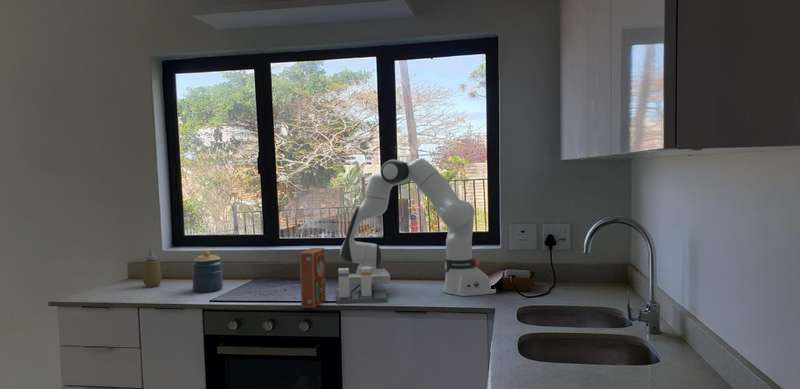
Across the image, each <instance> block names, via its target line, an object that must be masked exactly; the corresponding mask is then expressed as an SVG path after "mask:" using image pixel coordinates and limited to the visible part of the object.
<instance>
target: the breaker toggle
mask: <svg viewBox="0 0 800 389" xmlns="http://www.w3.org/2000/svg"><path fill="white" fill-rule="evenodd" d="M360 286H361V287H360V288H361V289H360V291H361V292H362V296H372V294H371V290H372V285H371V267H361V285H360Z"/></svg>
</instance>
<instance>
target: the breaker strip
mask: <svg viewBox="0 0 800 389" xmlns="http://www.w3.org/2000/svg"><path fill="white" fill-rule="evenodd" d="M349 269H350V267H340V268H338V270H337V272H338V276H337V277H338V290H337V291H336V296H335V299H336V301H335V302H336V305H337V304H360V303H361V304H362V303H364V304H365V303H384V302H385V303H386V302H388V299H387V297H388V296H387V292H386V289H379V290H377V289H376V290H375V289H371V294H372V296H362V292H361V289H360V290H350V285H349V274H350V270H349Z"/></svg>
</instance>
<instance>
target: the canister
mask: <svg viewBox="0 0 800 389" xmlns="http://www.w3.org/2000/svg"><path fill="white" fill-rule="evenodd" d="M220 259H221V257H220V256H218V255H216V254H211V253H210V251H208V250H206V251H204V252H203V255H198V256H196V257H195V258H194V259H193V262H194V263H192V264H191V267H192V272H191V273H192V292H195V293H212V292H216V291H217V292H218V291H220V290H222V289H223V288H224V283H223V269H222V264H223V262H222V261H221V260H220Z"/></svg>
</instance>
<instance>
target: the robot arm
mask: <svg viewBox="0 0 800 389" xmlns="http://www.w3.org/2000/svg"><path fill="white" fill-rule="evenodd" d="M411 182H413V183H414V184H415V185H416V186H417V188H418V189H419V190H420V191H421V192H422V193H423V194H424V195H425V197H426V198H427V199H428V200H429V201H430V202H431V204H432V206H433V207H434V209H435V211H436V212H437V214H438V215H439V217H440V219H441V221H442V222H443V223H444V224H445V225H446V226H447V234H446V237H445V238H446V239H445V258H444V270H445V278H444V279H445V280H444V285H443V287H442V288H443V289H442V292H443V293H445V294H450V295H455V296H456V295H457V296H460V297H470V296H480V295H481V296H482V295H490V294H491V295H492V294H496V293H497V289H496V288H495V289H491V286H492V285H491V281H490V277H489V276H488V275H487V274H486V273H485V272H484V271H482V270H481V269H480V268H478V267H477V266H479V265H480V261H479V260H478V259H475V258H473V245H472V244H473V234H474V233H473V231H474V221H475V209H474V206H473V205H472V204H471V203H470V202H469V201H467V200H463V199H460V198H459V197H458V195H457V194H456V193H455V190H453V188H452V186H451V184H450V183H449V182H448V181H447V180H446V178H445V177H444V176H443V175H442V174H441V173H440V172H439V170H437V169H436V168H435V167H434V166H433V165H432V164H431V163H430V162H429V161H428V160H426V159H425V158H423V157H422V158H421V157H419V158H416V159H414V160H413V161H411V162H410V163H408V162H407V161H403V160H400V159H389V160H387V161H385V162H384V163H383V164H382V165H381V168H380V172H375V173H372V174H371V175H370V176H369V178H368V182H367V184H366V188H365V193H364V198H363V201H362V202H361V204H360V205H358V206H357V205H356V208H354V211H353V215H352V217H351V220H350V223H349V226H348V229H347V232H346V236H345V239H344V241H343V243H342V245H341V247H340V251H339V256H340V258H341V260H342V261H343V262H344V263H349V264H350V263H351V264H352V263H355V264H358V265H357V266H358V267H357V269H356V273H349V286H359V285H360V286H361V267H371V286H376V285H385V284H386V285H389V284H391V274H390V273H389V272H388V271H387V269H386V268H384V267H380V265H381V262H382V250H381V247H380V246H379V244H377V243H371V242H364V241H356V240H355V237H356V235H357V232H358V228H359V225H360V223H361V222H363V221H365V220H368V219H373V218H377V217H380V216H381V215H383V214H384V213H385V212H386V211H387V210H388V206H389V202H390V201H389V200H390V195H391V191H392V188H393V187H397V186H405V185H407V184H410V183H411Z"/></svg>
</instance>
